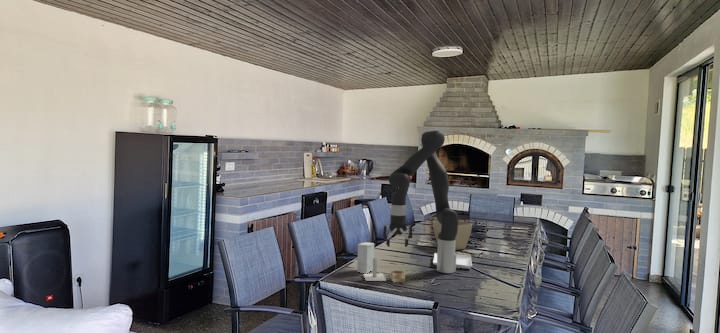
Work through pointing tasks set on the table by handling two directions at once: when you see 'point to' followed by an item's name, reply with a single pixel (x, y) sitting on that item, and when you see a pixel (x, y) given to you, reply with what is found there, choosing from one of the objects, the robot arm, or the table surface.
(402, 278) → the ring
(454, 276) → the table surface
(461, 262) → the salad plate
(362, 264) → the skincare box
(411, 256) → the table surface
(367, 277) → the post
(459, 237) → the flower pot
